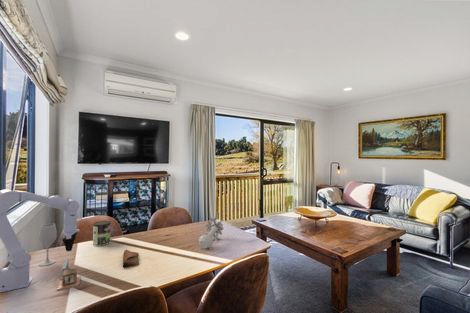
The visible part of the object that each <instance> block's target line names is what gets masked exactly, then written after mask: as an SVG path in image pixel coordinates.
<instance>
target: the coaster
mask: <svg viewBox="0 0 470 313" xmlns="http://www.w3.org/2000/svg"><path fill="white" fill-rule="evenodd" d="M80 281H81V275H79V276H77V280H76V283H75V284H71V285H67V286H62V280H61V281H60V280H59V282H58V285H57V288H56V291H62V290H65V289H70V288H74V287H78V286H80V283H81V282H80Z"/></svg>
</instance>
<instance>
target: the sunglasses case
mask: <svg viewBox="0 0 470 313" xmlns="http://www.w3.org/2000/svg"><path fill="white" fill-rule="evenodd" d="M138 266H140V263H139V252H135V251H130V250H128V249H125V250H124V251H123V255H122V268H123V269H127V268H132V267H138Z"/></svg>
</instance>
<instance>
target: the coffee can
mask: <svg viewBox="0 0 470 313" xmlns="http://www.w3.org/2000/svg"><path fill="white" fill-rule="evenodd" d="M111 224H112V223H111V221H110V220H101V221H96V222H93V224H92V225H93V227H92V229H93V230H92V232H93V234H92V246H93V245H94V246H93V247H102V246H101V245H103V246H106V245H105V244H107V243H109V242H110V243H111ZM110 243H109V244H110ZM107 245H108V244H107Z"/></svg>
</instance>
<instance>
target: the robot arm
mask: <svg viewBox="0 0 470 313" xmlns="http://www.w3.org/2000/svg"><path fill="white" fill-rule="evenodd" d="M25 201H30V202H35V203H36V202H37V203H41V204H46V207H48V208H52V209H58V210H63V231H62V234H63V235H64V236H65V237H62V238H61V241H62V242H63V244H64V248H65V252H71V251H72V249H73V246H74V243H75V240H76V237H77V234H78V233H79V232H80V229H78V210H79V208H80V204H79V202H78V201H77V200H75V199H70V197H63V196H60V195H59V194H56V195H51V196H45V195H42V194H36V193H33V192H29V191H25V190H15V189H14V190H12V189H8V188H3V189H1V190H0V240H1V243H3V246H4V248H5V250H6V253H7V256H6V259H7V261H8V262H9V264H8V266H6V267H3V268H1V270H0V293H5V292H9V291H13V290H17V289H23V288H27V287H28V286H30V283H31V281H32V279H33V277H30V272H31V271H30V267H31V266H30V264H31V260H32V255H31V254H30V253H29V252H27V251H26V250H25V248H24V247H23V245H22V244H21V241H20V240H19V238H18V236H17V234H16V232H15V230H14V228H13V227H12V224H11V223H10V220H9V219H8V217H7V212H8V211H10V209H11V208H12V207H14V205H16V204H17V203H18V202H19V203H23V202H25Z"/></svg>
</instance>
